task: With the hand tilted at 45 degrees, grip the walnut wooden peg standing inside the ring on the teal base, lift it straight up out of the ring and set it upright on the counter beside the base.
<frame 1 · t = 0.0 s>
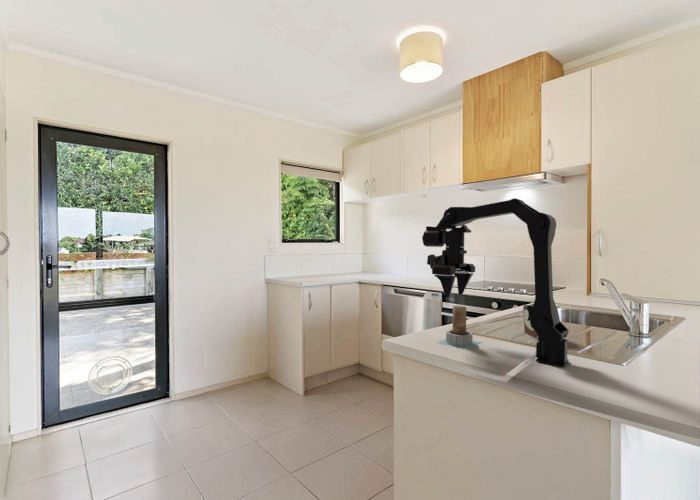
hand: (454, 295, 115), 15 cm above the worktop, tool pointing down, fingers open, 9 cm apart
food container: (539, 337, 123), on the worktop
ring stand: (459, 345, 111), on the worktop
walnut peg: (459, 342, 111), point 1 cm above the worktop, touching ring stand
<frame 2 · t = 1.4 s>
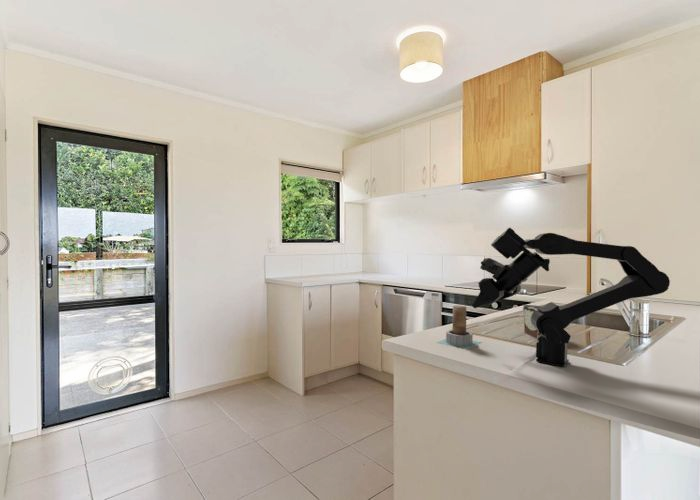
hand: (479, 305, 106), 13 cm above the worktop, tool tilted 45°, fingers open, 9 cm apart
nothing on the worktop moved.
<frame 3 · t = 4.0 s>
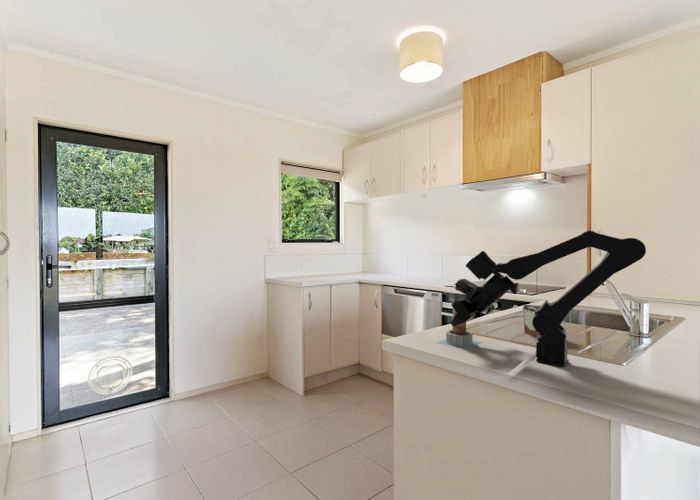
hand: (455, 323, 111), 7 cm above the worktop, tool tilted 45°, fingers closed on walnut peg, 4 cm apart
walnut peg: (459, 342, 111), point 1 cm above the worktop, touching gripper, ring stand
everything else where it was.
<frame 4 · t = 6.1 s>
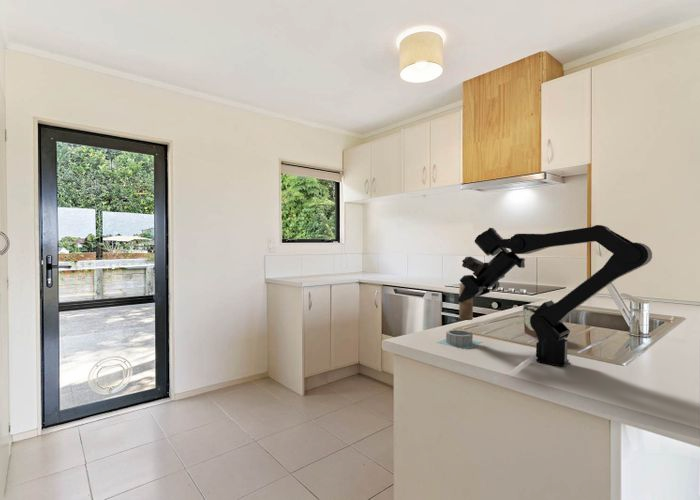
hand: (461, 300, 114), 13 cm above the worktop, tool tilted 45°, fingers closed on walnut peg, 4 cm apart
walnut peg: (465, 318, 113), point 8 cm above the worktop, touching gripper
everything else where it was.
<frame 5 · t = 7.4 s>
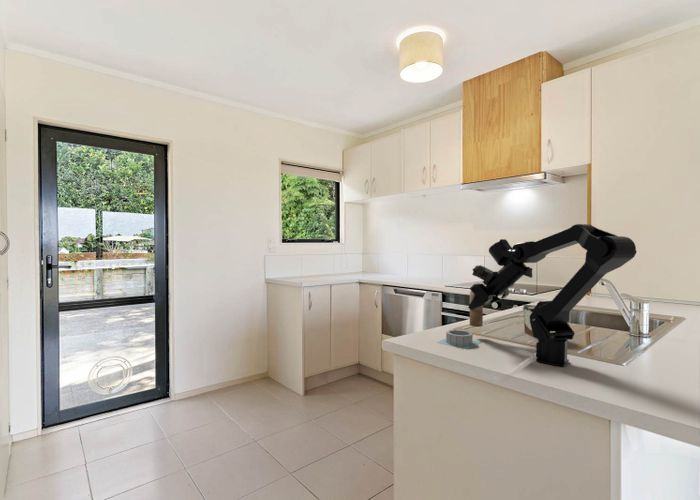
hand: (472, 307, 118), 10 cm above the worktop, tool tilted 45°, fingers closed on walnut peg, 4 cm apart
walnut peg: (476, 325, 117), point 5 cm above the worktop, touching gripper
everything else where it was.
when the fingers open (7 cm above the worktop, at t = 8.5 s): walnut peg drops 1 cm, on the worktop.
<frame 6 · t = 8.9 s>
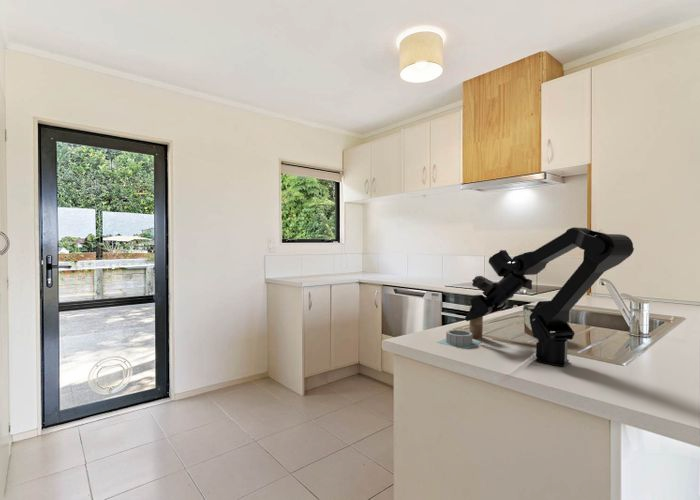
hand: (471, 317, 118), 7 cm above the worktop, tool tilted 45°, fingers open, 9 cm apart
walnut peg: (475, 340, 117), on the worktop
everything else where it was.
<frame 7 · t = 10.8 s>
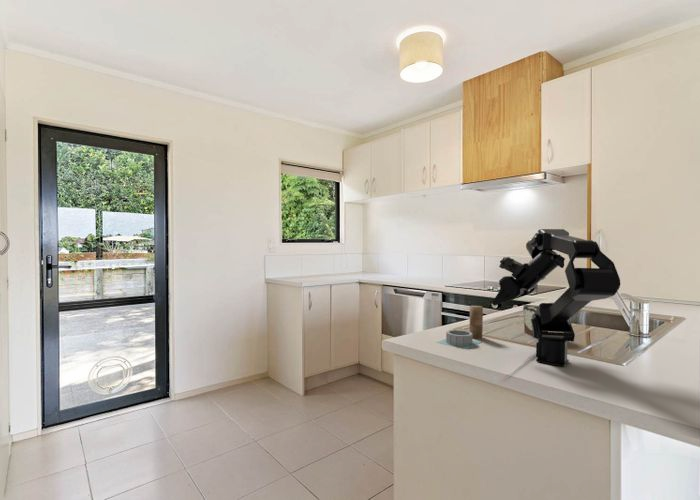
hand: (498, 302, 110), 13 cm above the worktop, tool tilted 45°, fingers open, 9 cm apart
nothing on the worktop moved.
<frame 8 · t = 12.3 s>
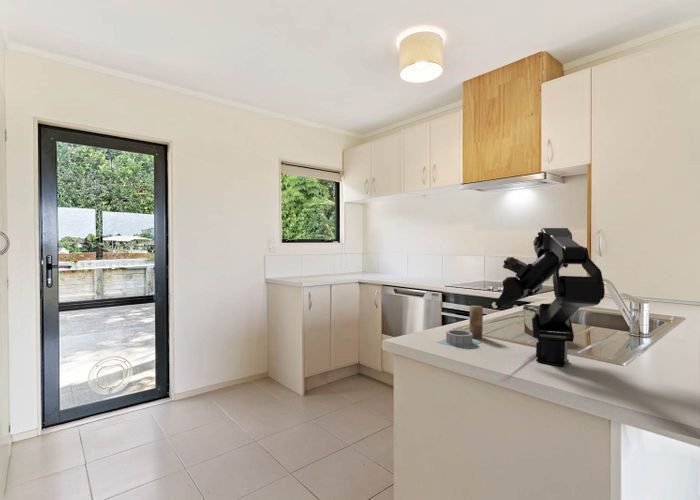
hand: (502, 303, 108), 14 cm above the worktop, tool tilted 45°, fingers open, 9 cm apart
nothing on the worktop moved.
at the end: walnut peg inside the target area (0.1 cm from its centre), on the worktop; walnut peg tilted 0°; the gripper is holding nothing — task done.
